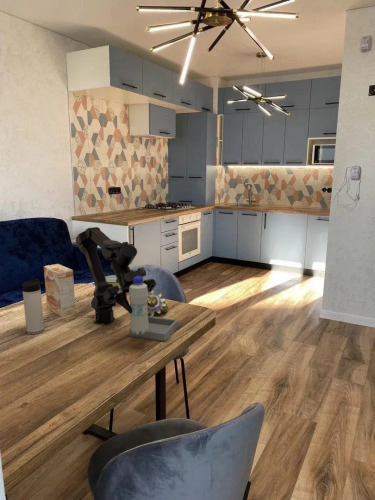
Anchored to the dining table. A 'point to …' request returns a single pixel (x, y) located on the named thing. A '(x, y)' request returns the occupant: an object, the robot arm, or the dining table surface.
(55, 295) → the coffeecake box
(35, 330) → the travel mug
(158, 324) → the open box
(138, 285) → the bottle
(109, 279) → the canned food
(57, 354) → the dining table surface
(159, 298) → the passion flower
